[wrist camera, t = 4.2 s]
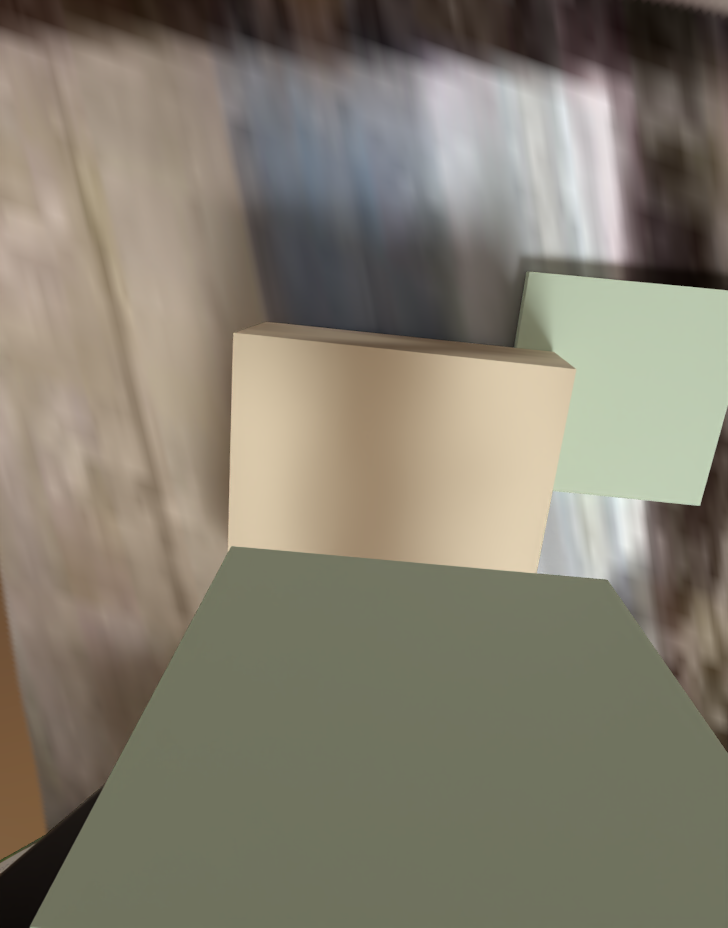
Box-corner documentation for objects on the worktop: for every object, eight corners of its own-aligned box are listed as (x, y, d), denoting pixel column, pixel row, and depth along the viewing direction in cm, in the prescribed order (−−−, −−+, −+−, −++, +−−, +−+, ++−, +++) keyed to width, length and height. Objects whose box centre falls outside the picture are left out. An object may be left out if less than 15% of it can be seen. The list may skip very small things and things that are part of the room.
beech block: (553, 352, 17) (576, 369, 14) (506, 609, 20) (517, 667, 17) (266, 321, 18) (233, 332, 15) (256, 574, 20) (225, 625, 17)
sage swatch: (750, 292, 17) (758, 293, 16) (693, 500, 19) (699, 505, 18) (526, 271, 17) (529, 271, 17) (492, 480, 19) (494, 484, 18)
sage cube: (607, 580, 8) (903, 1007, 4) (542, 862, 10) (689, 1421, 5) (231, 546, 8) (29, 926, 4) (225, 832, 10) (79, 1364, 5)
